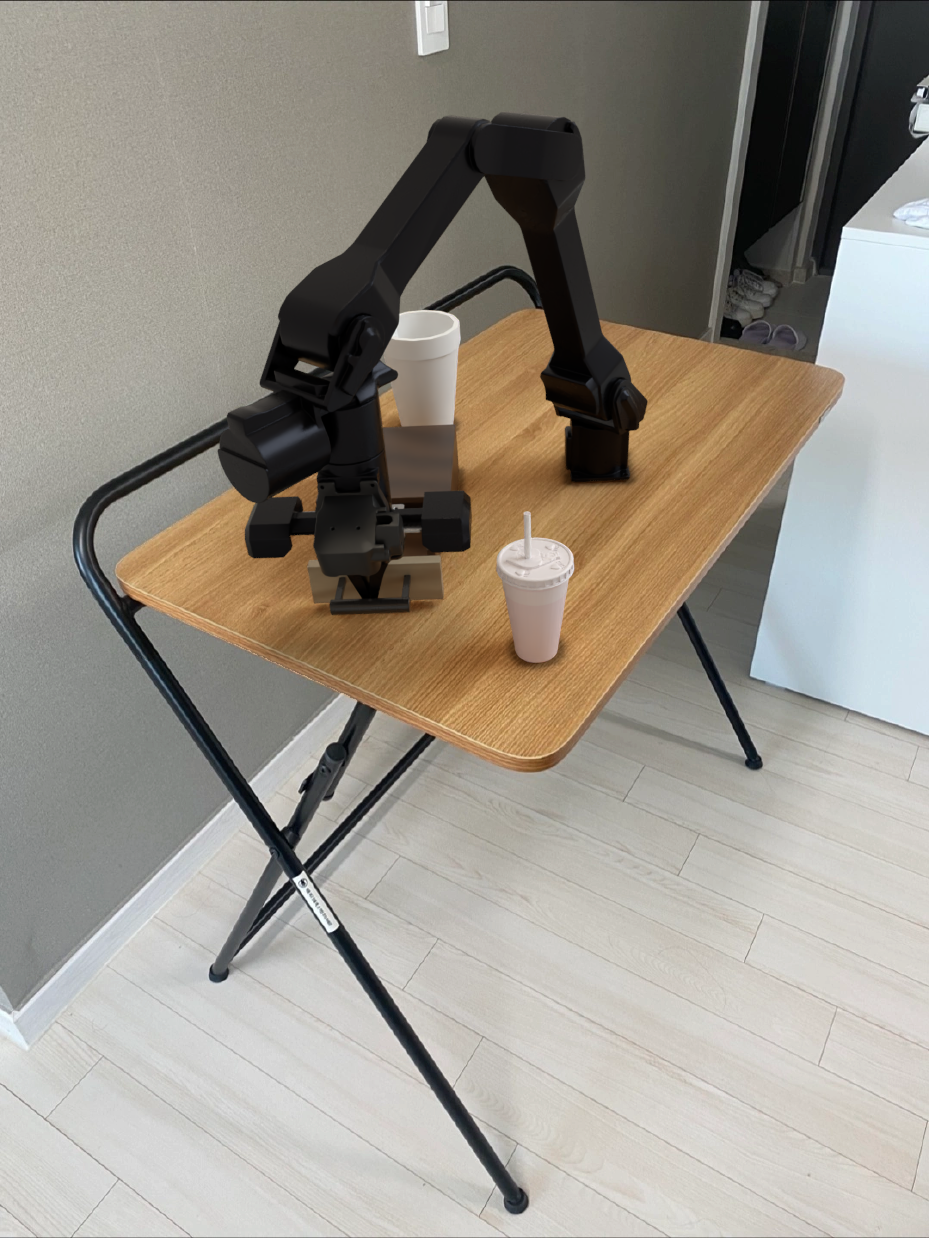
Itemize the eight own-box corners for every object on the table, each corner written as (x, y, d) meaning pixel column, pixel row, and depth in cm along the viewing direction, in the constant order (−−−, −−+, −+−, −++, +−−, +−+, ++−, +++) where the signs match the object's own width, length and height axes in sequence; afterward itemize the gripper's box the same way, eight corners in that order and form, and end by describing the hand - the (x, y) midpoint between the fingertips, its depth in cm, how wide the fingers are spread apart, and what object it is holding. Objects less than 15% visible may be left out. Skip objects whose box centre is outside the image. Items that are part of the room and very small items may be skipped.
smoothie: (496, 630, 87) (489, 495, 78) (566, 622, 87) (567, 488, 78) (504, 676, 82) (498, 538, 73) (579, 668, 82) (581, 530, 73)
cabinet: (454, 545, 98) (450, 495, 94) (324, 550, 99) (315, 501, 95) (459, 470, 110) (455, 424, 106) (343, 475, 111) (335, 429, 107)
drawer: (441, 632, 85) (437, 594, 83) (305, 636, 86) (297, 599, 84) (449, 517, 101) (446, 482, 98) (334, 521, 101) (328, 486, 99)
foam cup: (438, 451, 114) (429, 346, 106) (375, 435, 118) (362, 333, 110) (479, 418, 120) (474, 316, 112) (418, 404, 124) (409, 305, 116)
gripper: (211, 504, 71) (251, 664, 81) (462, 495, 70) (473, 658, 80) (242, 434, 80) (276, 586, 89) (466, 426, 79) (476, 580, 88)
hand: (372, 603), depth 86 cm, fingers closed, pressing on drawer
